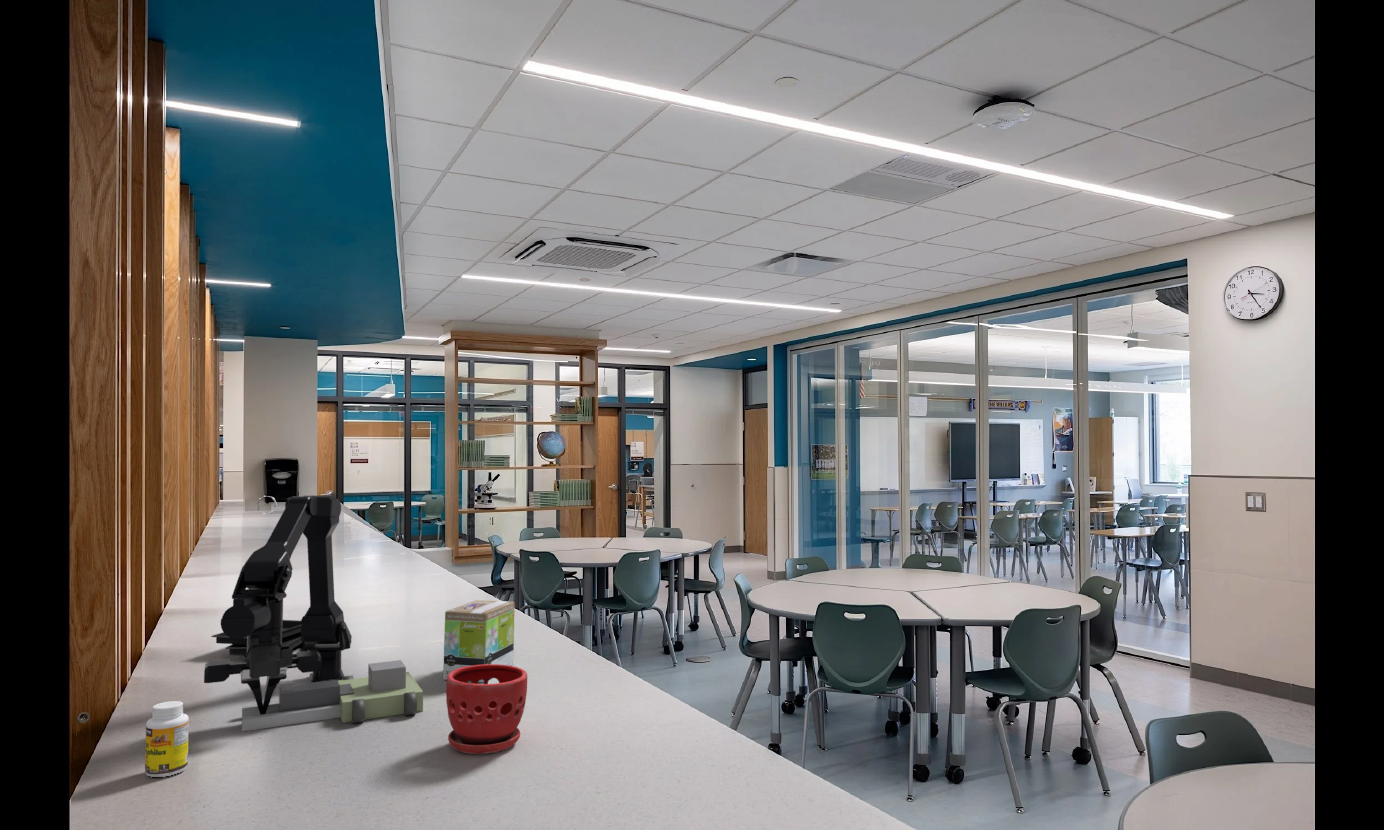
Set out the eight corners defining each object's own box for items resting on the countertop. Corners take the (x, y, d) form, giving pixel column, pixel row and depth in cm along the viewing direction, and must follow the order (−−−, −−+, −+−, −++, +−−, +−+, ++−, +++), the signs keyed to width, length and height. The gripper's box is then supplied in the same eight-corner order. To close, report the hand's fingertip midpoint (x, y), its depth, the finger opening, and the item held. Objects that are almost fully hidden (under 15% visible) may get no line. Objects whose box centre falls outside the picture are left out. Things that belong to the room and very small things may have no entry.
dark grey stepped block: (278, 713, 156) (279, 682, 156) (336, 705, 160) (337, 675, 161) (279, 722, 151) (280, 690, 151) (339, 713, 155) (340, 683, 155)
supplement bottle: (135, 776, 126) (137, 708, 127) (168, 763, 131) (170, 697, 132) (164, 781, 125) (165, 711, 125) (196, 767, 130) (197, 700, 130)
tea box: (486, 683, 176) (486, 612, 176) (441, 681, 178) (442, 610, 178) (515, 665, 191) (515, 599, 191) (474, 663, 193) (474, 598, 193)
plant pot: (451, 765, 130) (452, 687, 131) (441, 738, 142) (441, 667, 143) (535, 752, 136) (535, 677, 136) (518, 727, 148) (518, 659, 148)
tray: (329, 658, 199) (329, 635, 199) (217, 673, 186) (217, 649, 186) (307, 635, 224) (307, 615, 224) (206, 646, 211) (207, 626, 211)
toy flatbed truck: (242, 707, 160) (242, 667, 160) (406, 685, 174) (406, 648, 174) (241, 742, 141) (242, 696, 141) (425, 715, 155) (426, 673, 155)
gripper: (203, 640, 141) (201, 735, 140) (324, 630, 150) (322, 718, 149) (206, 628, 151) (204, 716, 150) (319, 619, 160) (317, 702, 159)
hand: (262, 713), depth 152 cm, fingers closed
